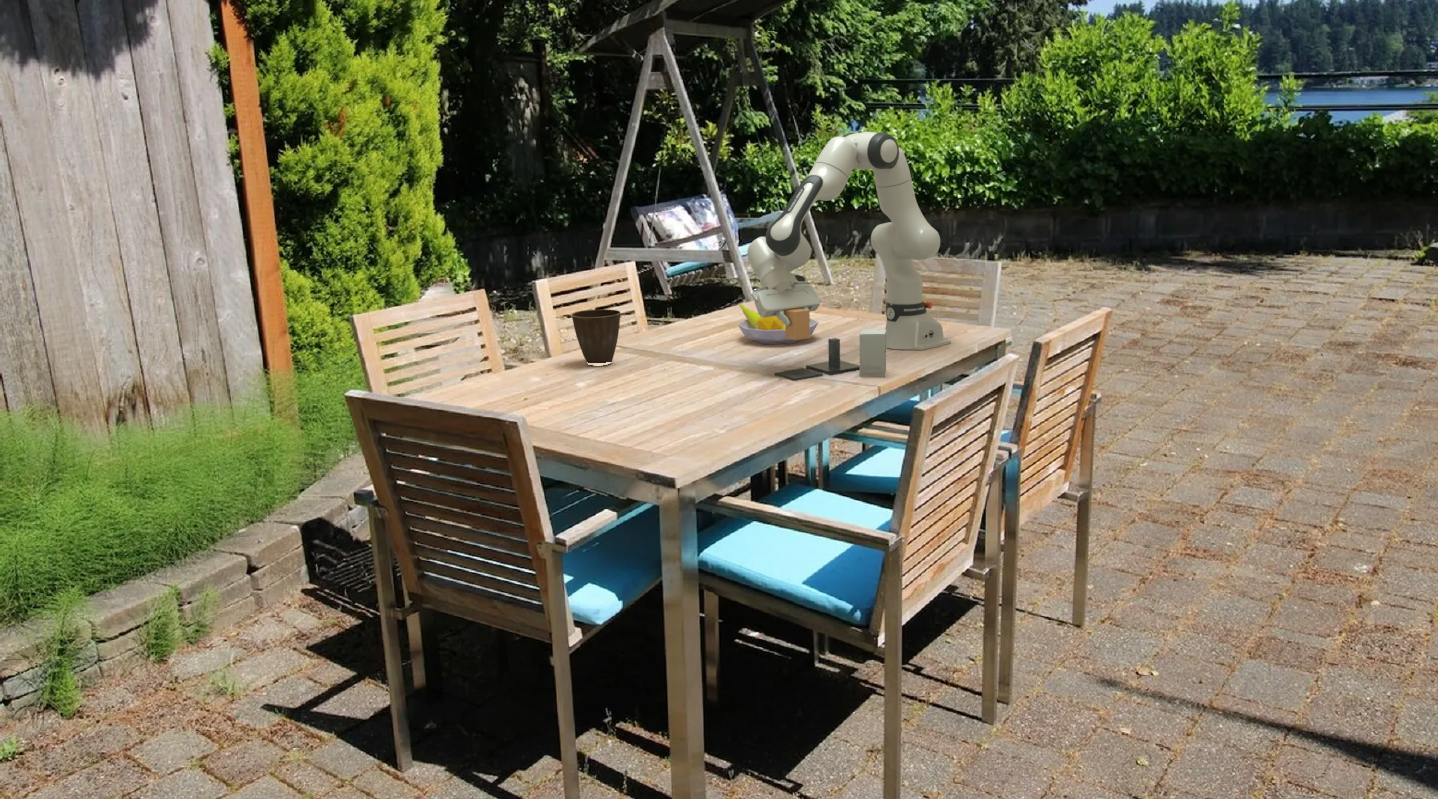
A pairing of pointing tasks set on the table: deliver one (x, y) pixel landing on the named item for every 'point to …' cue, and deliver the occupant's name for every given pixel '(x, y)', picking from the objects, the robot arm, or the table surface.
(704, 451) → the table surface
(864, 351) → the supplement box
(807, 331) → the tan rectangular pillar
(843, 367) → the post stand
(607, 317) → the plant pot
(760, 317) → the fruit bowl
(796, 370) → the mat
